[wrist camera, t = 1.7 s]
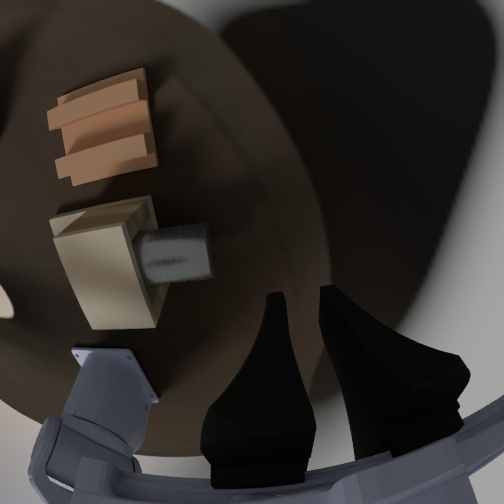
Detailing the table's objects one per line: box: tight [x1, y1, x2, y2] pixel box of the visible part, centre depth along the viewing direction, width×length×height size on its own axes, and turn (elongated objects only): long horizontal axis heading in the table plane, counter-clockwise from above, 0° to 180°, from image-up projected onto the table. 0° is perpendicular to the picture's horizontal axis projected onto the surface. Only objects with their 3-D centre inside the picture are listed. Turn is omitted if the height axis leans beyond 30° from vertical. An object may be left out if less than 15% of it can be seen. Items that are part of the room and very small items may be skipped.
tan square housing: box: [49, 195, 170, 329], centre depth 18 cm, size 7×9×6 cm
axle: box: [131, 222, 215, 285], centre depth 18 cm, size 10×4×4 cm, turn 96°
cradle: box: [47, 68, 159, 186], centre depth 15 cm, size 7×7×2 cm
